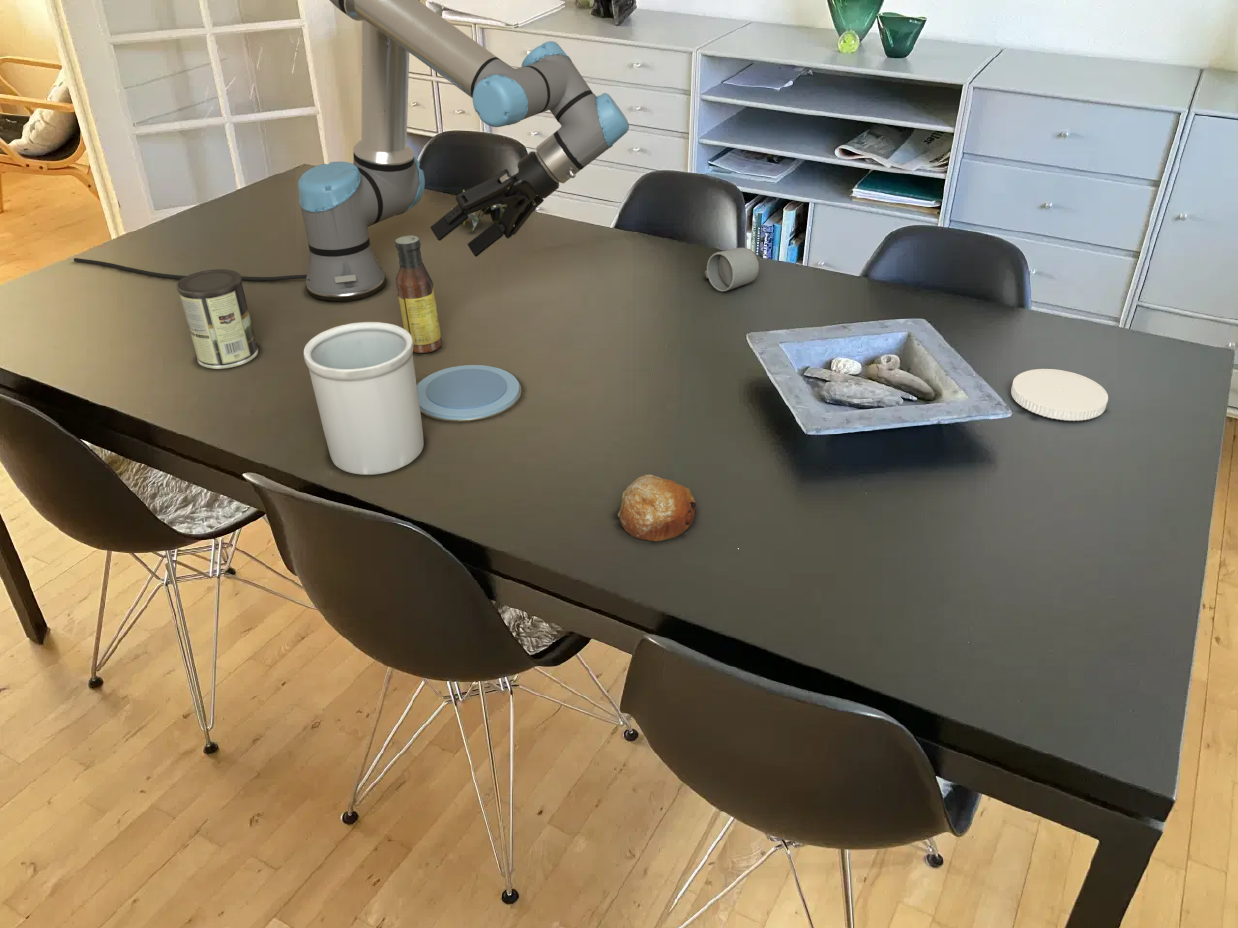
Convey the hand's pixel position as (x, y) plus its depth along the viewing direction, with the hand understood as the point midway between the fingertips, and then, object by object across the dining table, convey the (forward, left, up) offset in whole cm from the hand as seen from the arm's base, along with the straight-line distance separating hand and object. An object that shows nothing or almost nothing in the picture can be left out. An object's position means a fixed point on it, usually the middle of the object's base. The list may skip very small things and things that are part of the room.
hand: (453, 242), depth 174 cm
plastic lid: (+102, +10, -16) cm, 104 cm away
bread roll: (+55, -43, -16) cm, 72 cm away
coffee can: (-32, -27, -16) cm, 44 cm away
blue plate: (+14, -23, -16) cm, 31 cm away
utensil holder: (+11, -43, -16) cm, 47 cm away
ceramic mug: (+39, +36, -16) cm, 56 cm away
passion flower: (-23, +46, -16) cm, 54 cm away
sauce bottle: (-2, -11, -16) cm, 19 cm away
